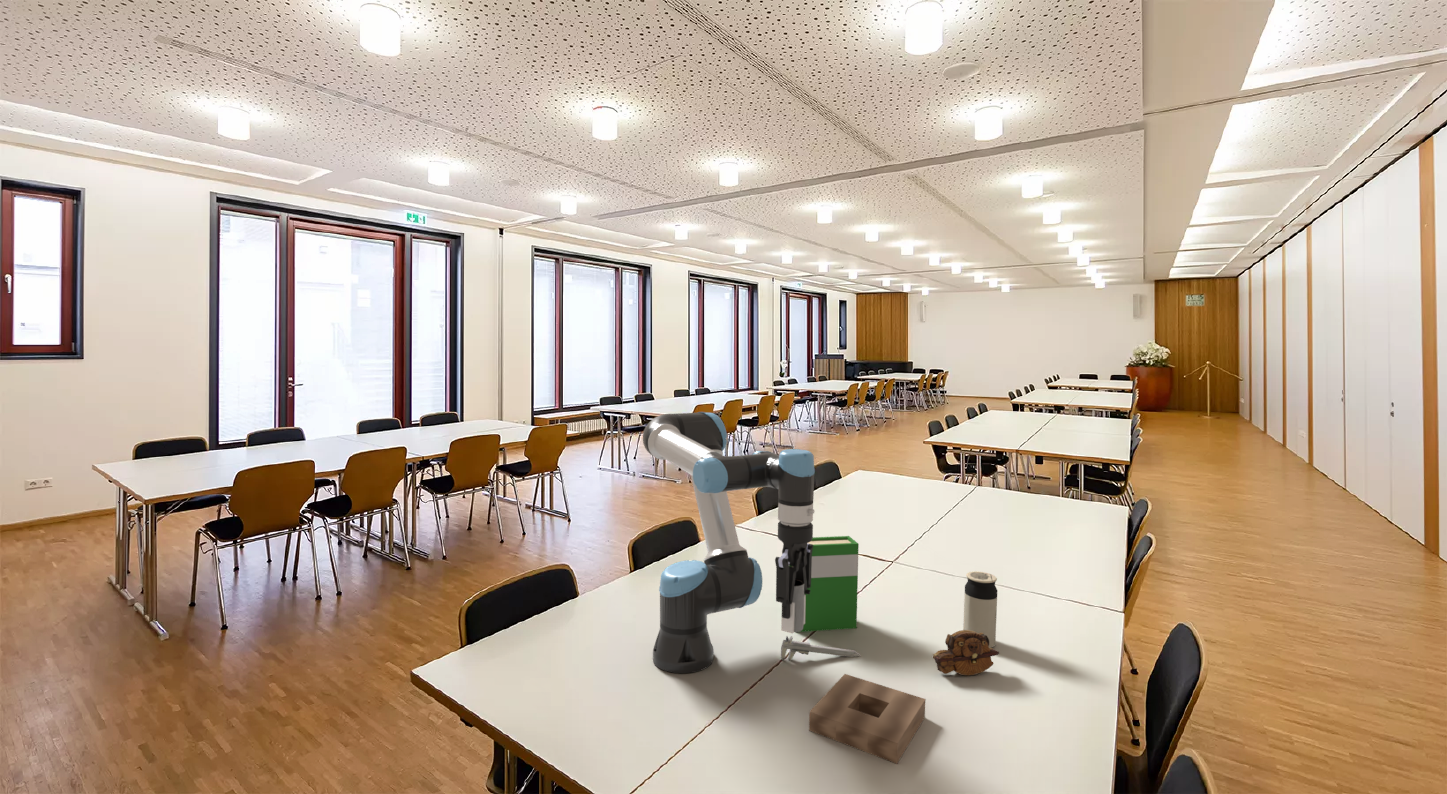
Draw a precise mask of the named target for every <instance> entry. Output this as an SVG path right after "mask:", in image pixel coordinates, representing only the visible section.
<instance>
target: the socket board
mask: <svg viewBox="0 0 1447 794" xmlns="http://www.w3.org/2000/svg"><path fill="white" fill-rule="evenodd" d="M925 717H926V698H923V697H920V696H917V695H914V694H910V693H907V692H905V691H901V690H898V689H895V688H892V687H888V686H885V685H881V684H879V683H876V682H872V681H869V680H866V679H863V678H859V677H856V676H853V675H850V674H847V673H844V674H843V675H842V676H841V677H840V678H839V679H838V681H836V682H835V684H834V685H832V687H831V688H830V689H829V690H828V691H827V692H825V694H824V695H823V696H822V697H821V698H820V699H819V701H818V702H817V703H816V704H815V705H814V706H813V707H812V708H811V709H810V710H809V718H808V719H809V721H808V725H809V726H808V730H809V731H810V732H812V733H815V734H817V735H820V736H822V737H825V738H828V739H830V740H833V741H836V742H838V743H841V744H844V745H846V746H849V747H851V748H854V749H856V750H859V751H862V752H865V753H866V754H869V755H872V756H875V757H877V758H880V759H883V760H886V761H888V762H891V763H894V764H898V763H899V761H900V760H901V758H902V756H903V754H904V753H905V751H906V750H907V749H908V746H909V745H910V743H911V741H912V740H913V738H914V736H915V735H916V733H917V731H918V730H919V728H920V727H921V725H922V723H923V722H924V719H925Z"/></svg>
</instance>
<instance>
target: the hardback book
mask: <svg viewBox="0 0 1447 794" xmlns="http://www.w3.org/2000/svg"><path fill="white" fill-rule="evenodd" d="M808 544H813V551H812V566H811V587H810V588H807V590H811V591H810V594H805V595H806V605H805V624H804V625H803V630H802V631H800V632H799V633H802V632H803V633H804V632H817V631H819V632H821V631H834V630H835V631H837V630H849V629H850V630H851V629H857V626H858V621H857V620H858V589H859V588H858V585H859V584H858V581H859V579H858V578H859V572H858V571H859V548H860V547H859V543H858V541H856V540H855V539H853V538H852V537H851V536H849V535H838V536H835V535H834V536H818V537H817V536H816V537H814V536H813V539H812V541H810V542H809V543H808ZM791 567H793V566H791Z"/></svg>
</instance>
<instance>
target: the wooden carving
mask: <svg viewBox="0 0 1447 794" xmlns="http://www.w3.org/2000/svg"><path fill="white" fill-rule="evenodd" d="M944 643H945V645H946V646H947V649H940V650H936V652H935V653H933V654H932V659H933V660H934V661H935V662H934V663H936V667H937V670H938V671H939V672H940V673H942V674H944V675H947V674H950V673H953V672H955V673H957V674H959V675H963V676H974V675H977V674H981V673H983V672H986V671H987V670H988V669H990V668H991V667H992V666H993V665H994V661H992V658H991V657H995V656H998V655H1000V651H998V650H996V649H995V648H993V647H991V648H989V639H988V637H987V635H984V633H977V632H974V631H970V630H963V629H962V630H958V631H956V632H955V631H954V633H952V634H949V633H947V635H946V638H945V642H944Z"/></svg>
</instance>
